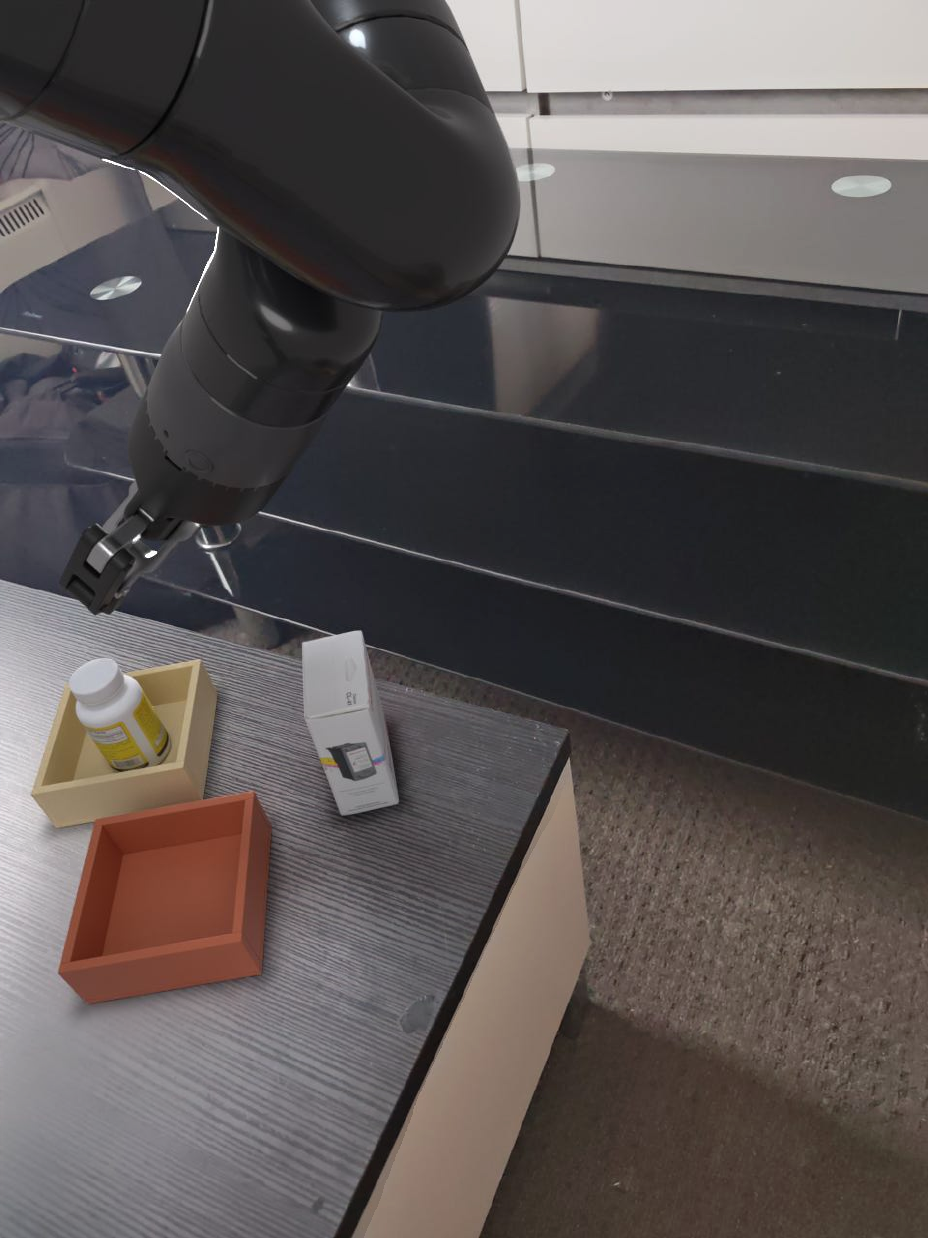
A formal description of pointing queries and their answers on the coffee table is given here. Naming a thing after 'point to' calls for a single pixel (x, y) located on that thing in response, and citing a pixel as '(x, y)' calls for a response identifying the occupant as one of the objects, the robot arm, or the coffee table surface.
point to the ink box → (348, 722)
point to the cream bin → (91, 789)
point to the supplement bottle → (118, 716)
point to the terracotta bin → (170, 899)
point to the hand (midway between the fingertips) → (148, 556)
